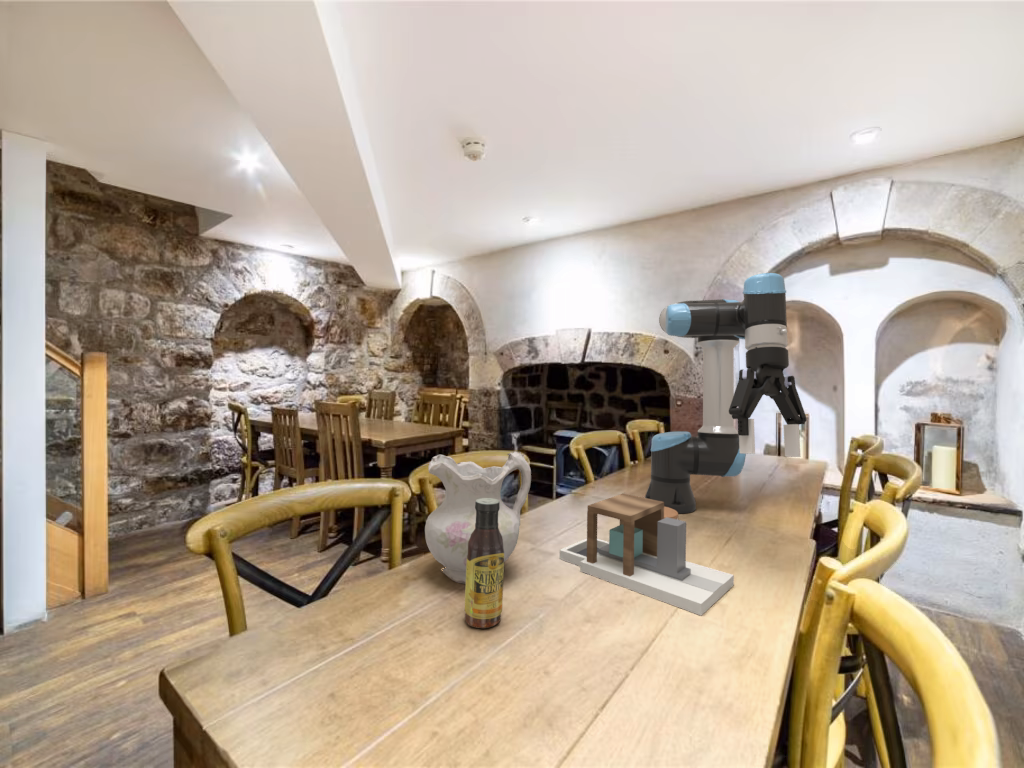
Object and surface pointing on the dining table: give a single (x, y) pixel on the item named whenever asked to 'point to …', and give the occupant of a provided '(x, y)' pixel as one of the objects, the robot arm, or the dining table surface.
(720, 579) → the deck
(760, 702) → the dining table surface
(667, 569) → the grey l-shaped piece
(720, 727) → the dining table surface
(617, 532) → the block
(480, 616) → the sauce bottle
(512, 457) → the ceramic pitcher
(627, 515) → the tunnel
